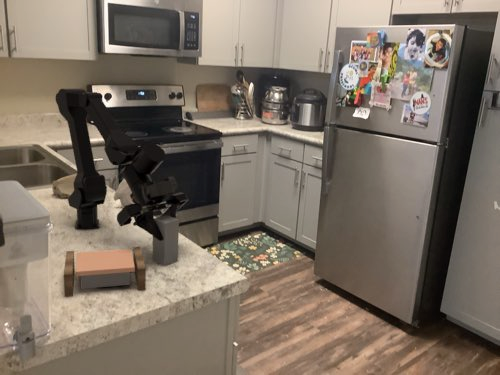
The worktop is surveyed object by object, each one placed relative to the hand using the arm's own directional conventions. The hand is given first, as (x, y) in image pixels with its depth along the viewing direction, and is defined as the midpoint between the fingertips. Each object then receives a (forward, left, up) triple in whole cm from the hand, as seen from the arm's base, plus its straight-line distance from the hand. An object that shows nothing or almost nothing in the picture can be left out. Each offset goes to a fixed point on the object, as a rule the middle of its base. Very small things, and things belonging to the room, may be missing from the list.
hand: (169, 237), depth 113 cm
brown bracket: (+8, -15, -7) cm, 18 cm away
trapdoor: (+7, -15, -6) cm, 18 cm away
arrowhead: (-44, -7, -7) cm, 45 cm away
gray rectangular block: (-1, -1, -7) cm, 7 cm away
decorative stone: (-60, -24, -7) cm, 65 cm away
